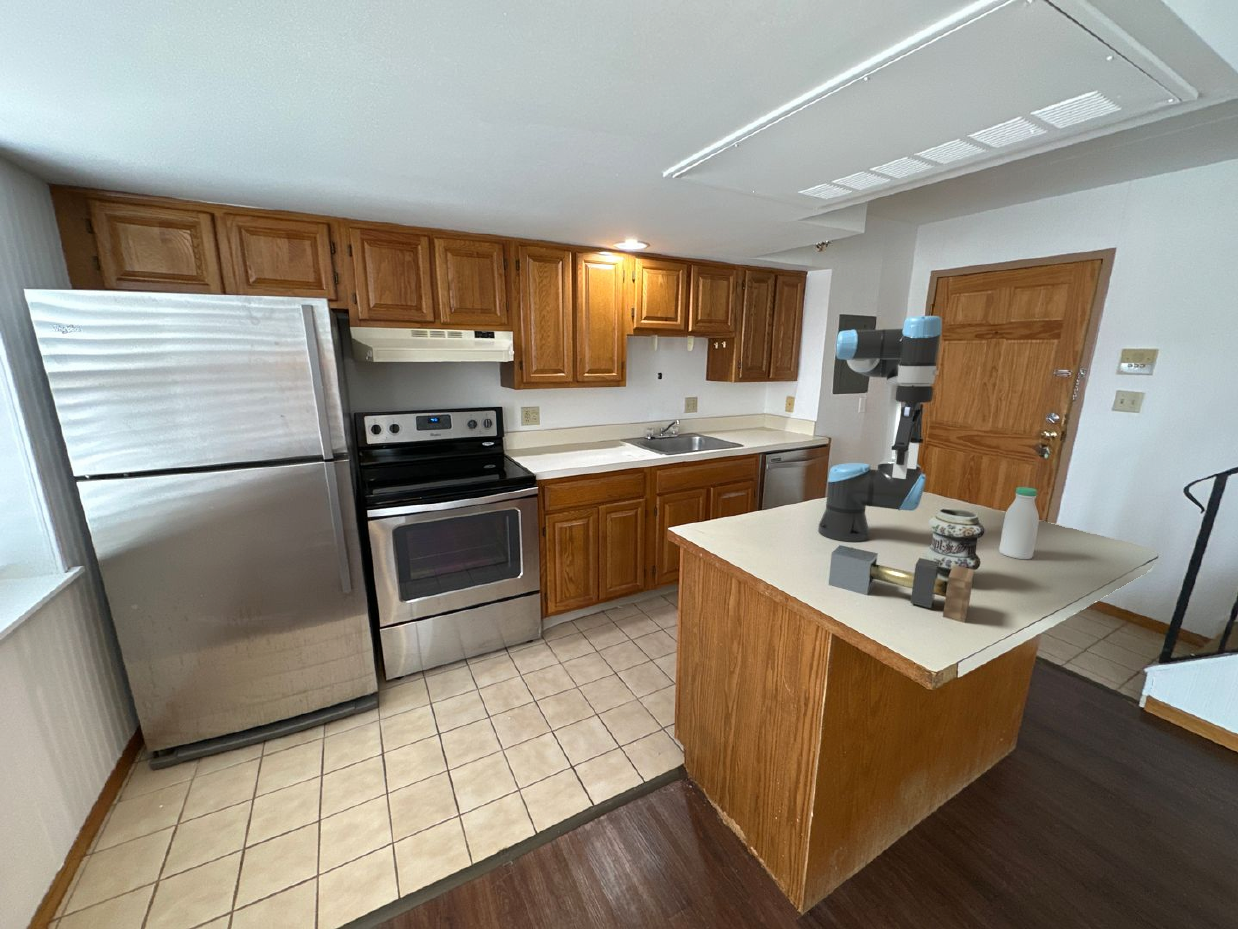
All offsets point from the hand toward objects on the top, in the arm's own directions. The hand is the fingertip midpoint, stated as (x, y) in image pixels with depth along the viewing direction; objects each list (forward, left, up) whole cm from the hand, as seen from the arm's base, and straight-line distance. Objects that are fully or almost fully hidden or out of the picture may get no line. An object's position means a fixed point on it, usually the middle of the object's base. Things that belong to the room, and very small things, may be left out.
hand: (904, 473), depth 119 cm
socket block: (+15, -8, -29) cm, 33 cm away
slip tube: (+5, -8, -28) cm, 30 cm away
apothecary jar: (+11, +12, -29) cm, 33 cm away
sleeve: (-7, -8, -29) cm, 31 cm away
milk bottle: (+24, +43, -29) cm, 57 cm away
